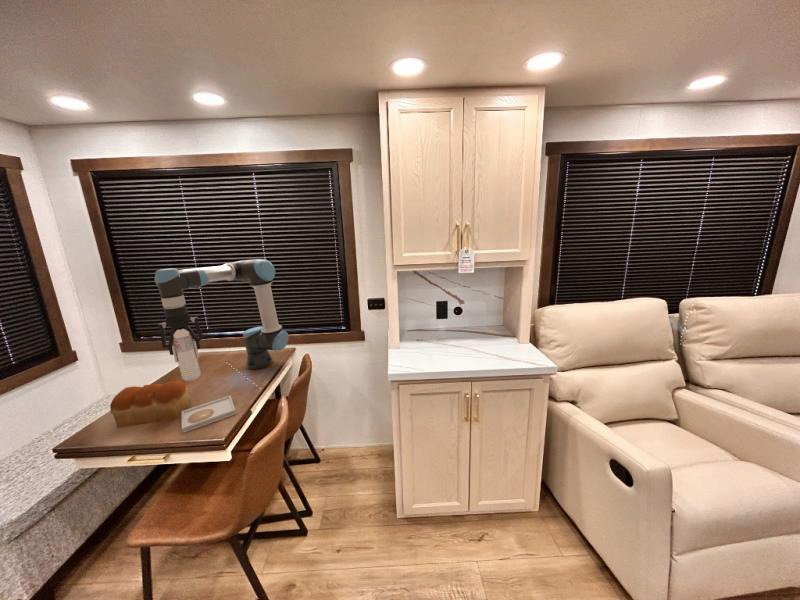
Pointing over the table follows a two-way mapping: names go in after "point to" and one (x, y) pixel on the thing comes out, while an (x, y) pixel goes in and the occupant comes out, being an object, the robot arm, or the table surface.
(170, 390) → the bread
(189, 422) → the tray
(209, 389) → the table surface
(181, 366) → the water bottle
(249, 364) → the robot arm
